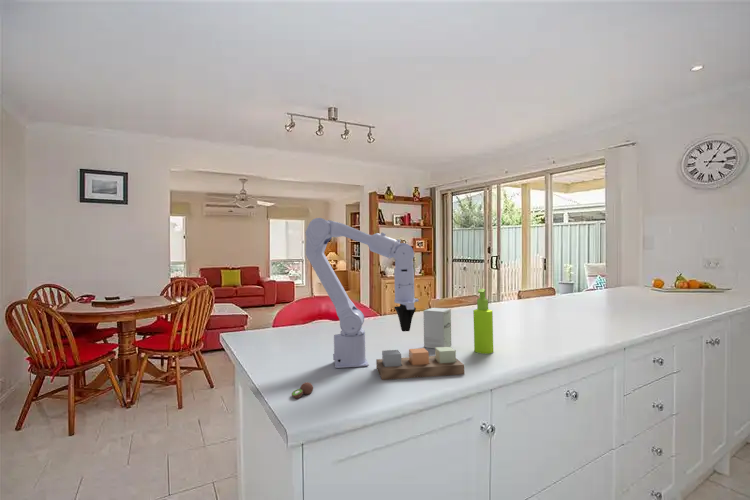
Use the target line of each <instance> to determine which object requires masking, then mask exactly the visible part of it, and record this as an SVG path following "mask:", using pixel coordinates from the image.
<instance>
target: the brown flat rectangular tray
mask: <svg viewBox="0 0 750 500" xmlns="http://www.w3.org/2000/svg"><path fill="white" fill-rule="evenodd" d="M375 363H376V370H377V373H378V374H379V376H380V379H381V381H385V380H389V381H390V380H398V379H399V380H401V379H417V378H426V377H427V378H432V377H441V376H442V377H443V376H444V377H445V376H458V375H465V364H464V363H463V362H461V361H460V360H459V359H458V358H456V362H454V363H438V362H437V361H436V360H435V355H429V364H423V365H411V363H410V362H409V356H408V357H401V366H393V367H384V366H383V364H382V358H379V359H376V361H375Z"/></svg>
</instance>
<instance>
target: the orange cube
mask: <svg viewBox="0 0 750 500" xmlns="http://www.w3.org/2000/svg"><path fill="white" fill-rule="evenodd" d="M429 356H430V353H429V351H428V350H427V349H426V347H419V348H408V357H409V362H410V363H411V365H423V364H429Z"/></svg>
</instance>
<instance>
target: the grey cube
mask: <svg viewBox="0 0 750 500" xmlns="http://www.w3.org/2000/svg"><path fill="white" fill-rule="evenodd" d="M381 352H382V354H381V355H382V356H381V357H382V358H381V359H382V364H383V366H384V367H393V366H401V358H402V353H401V351H400V350H399V349H392V350H391V349H389V350H388V349H387V350H386V349H385V350H382V351H381Z"/></svg>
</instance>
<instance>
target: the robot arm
mask: <svg viewBox="0 0 750 500" xmlns="http://www.w3.org/2000/svg"><path fill="white" fill-rule="evenodd" d="M386 234H387V233H384V232H381V233H378V232H376V233H374V234H369V233H366V232H364V231H362V230H359V229H358V228H355V227H352V226H350V225H347V224H345V223H343V222H338V221H334V220H330V219H329V220H326V219H324V218H322V217H316V218H313V219H312V220H311V221H310V222H308V225H307V228H306V230H305V239H306V240H305V256H306V258H307V260H308V261H309V263H310V265H311V267H312V269H313V270H314V272H315V274H316V275H317V277H318V279H319V281H320V283H321V285H322V286H323V288H324V290H325V292H326V294H327V295H328V297H329V299H330V301H331V303H332V304H333V306H334V308H335V311H336V316H337V317H338V320H339V326H340V329H341V330H340V333H337V334H336V333H335V334H333V354H332V356H333V358H332V359H333V361H334V368H335V369H343V368H355V367H356V368H357V367H368V366H369V362H368V360H367V358H366V331H365V330H364V329H363V325H364V322H365V315H364V313H363V312H362V311H361V310H360V309H359V308H357V306H356V305H355V303H354V302H353V301H352V300H351V299H350V297H349V295H348V293H347V292H346V290H345V288H344V286H343V284H342V283H341V281H340V279H339V278H338V275H337V273H336V272H335V270H334V269H333V267H332V265H331V263H330V261H329V260H328V258H327V256H326V254H325V251H326V248H327V245H328V243H329V242H330V240H331V239H332V238H341V237H344V238H348V239H350V240H353V241H355V242H359V243H361V244H363V245H367V247H368V249H369V251H370V252H372V253H374V254H377V255H380V256H383V257H385V258H388V259H391V258H393V259H394V260H395V261H394V266H395V267H394V269H393V272H394V275H393V276H394V278H393V279H394V304H398V305H399V306H394V307H393V308H394V310H395V312H396V314H397V317H398V321H399V327H400V330H401V331H402V332H410V331H411V325H412V321H413V320H412V319H413V317H414V314H415V313H416V309H417V308H416V306H415V303H417V302H419V298H415V274H414V273H415V269H414V261H413V259H415V258H414V257H415V252H414V249H413V247H412V245H410V244H408V243H405V242H401V241H402V240H401V239H399V238H397V239H395V238H392V237H389V236H386Z"/></svg>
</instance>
